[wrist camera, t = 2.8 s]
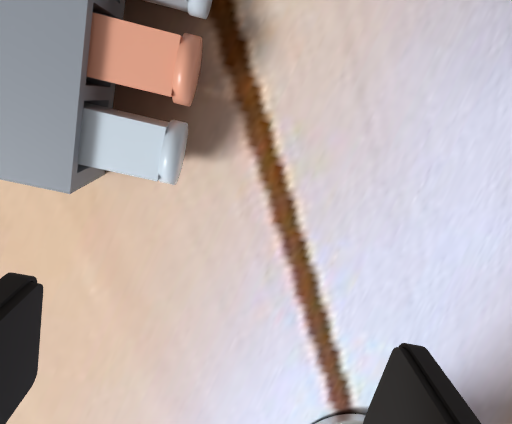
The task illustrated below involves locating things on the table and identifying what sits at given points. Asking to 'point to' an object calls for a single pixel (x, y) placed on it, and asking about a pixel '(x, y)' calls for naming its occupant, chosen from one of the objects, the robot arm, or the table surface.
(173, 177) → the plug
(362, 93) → the table surface
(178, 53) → the plug terracotta
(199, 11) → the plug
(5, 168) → the socket block
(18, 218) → the table surface
